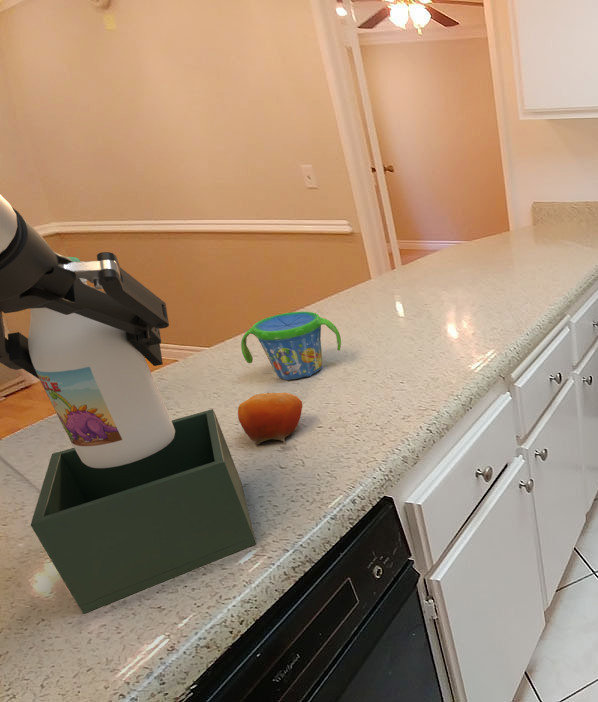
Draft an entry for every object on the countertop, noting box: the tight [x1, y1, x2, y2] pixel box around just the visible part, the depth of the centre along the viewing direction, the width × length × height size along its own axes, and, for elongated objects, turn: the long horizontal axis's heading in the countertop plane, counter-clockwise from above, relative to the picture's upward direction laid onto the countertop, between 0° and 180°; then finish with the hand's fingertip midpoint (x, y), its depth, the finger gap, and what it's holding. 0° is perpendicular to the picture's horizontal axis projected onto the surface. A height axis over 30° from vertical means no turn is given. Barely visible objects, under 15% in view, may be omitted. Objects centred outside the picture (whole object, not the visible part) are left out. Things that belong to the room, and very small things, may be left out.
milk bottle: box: [27, 256, 175, 468], centre depth 54 cm, size 8×8×20 cm
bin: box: [30, 408, 257, 614], centre depth 61 cm, size 15×15×11 cm
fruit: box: [237, 392, 303, 446], centre depth 82 cm, size 8×8×8 cm
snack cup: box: [240, 311, 342, 381], centre depth 101 cm, size 16×10×10 cm
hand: (107, 363), depth 58 cm, fingers closed on milk bottle, 8 cm apart
